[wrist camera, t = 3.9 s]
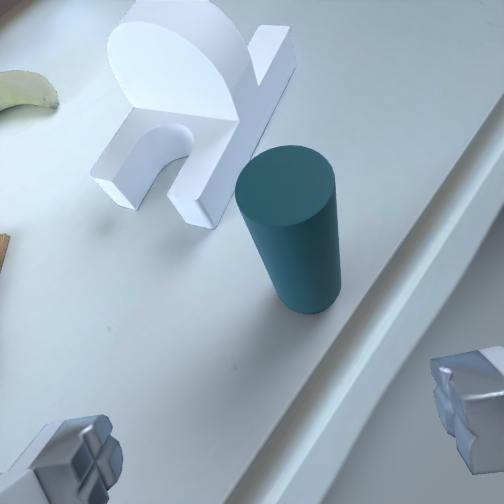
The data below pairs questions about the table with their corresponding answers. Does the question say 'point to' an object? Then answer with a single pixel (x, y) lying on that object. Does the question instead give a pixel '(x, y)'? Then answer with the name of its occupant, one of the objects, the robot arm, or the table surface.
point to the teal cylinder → (294, 224)
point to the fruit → (26, 90)
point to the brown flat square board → (3, 247)
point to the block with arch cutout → (190, 103)
